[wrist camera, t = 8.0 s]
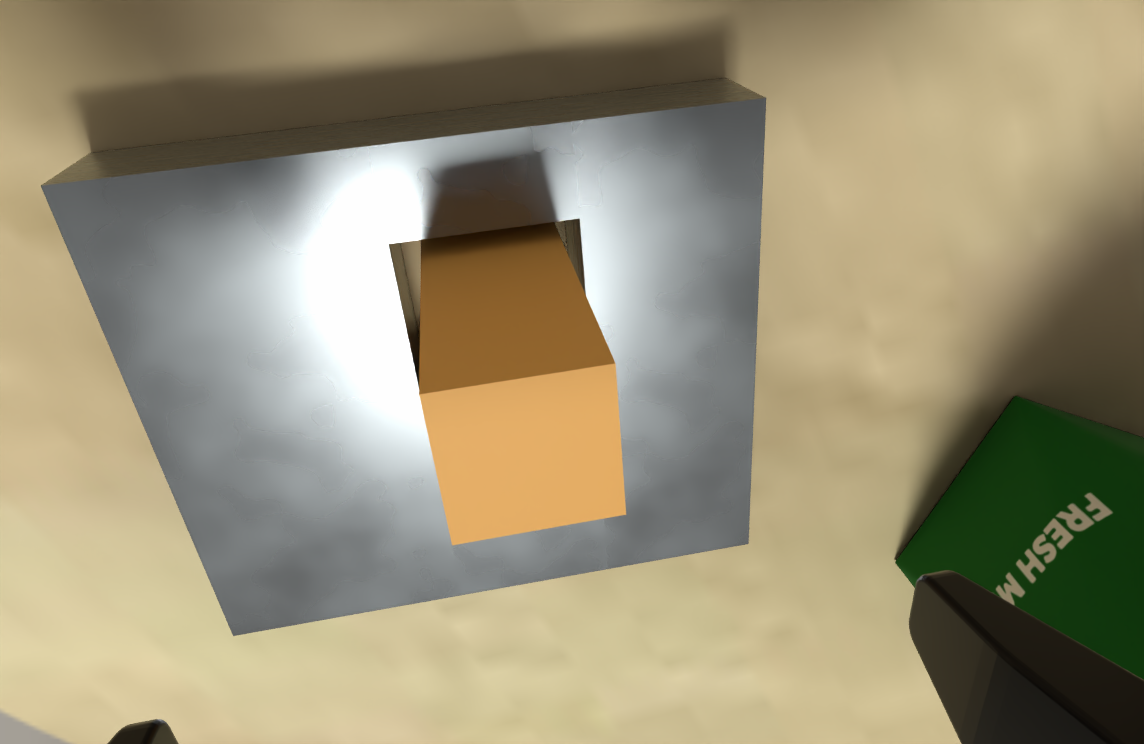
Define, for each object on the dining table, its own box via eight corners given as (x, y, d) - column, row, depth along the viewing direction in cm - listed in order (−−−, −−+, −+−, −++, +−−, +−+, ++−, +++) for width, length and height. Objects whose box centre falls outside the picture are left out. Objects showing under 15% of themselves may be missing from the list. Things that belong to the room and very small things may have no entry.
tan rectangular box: (546, 205, 19) (615, 363, 12) (558, 317, 20) (626, 514, 14) (421, 222, 19) (418, 394, 12) (443, 334, 20) (452, 545, 13)
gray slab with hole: (725, 77, 18) (766, 97, 16) (719, 489, 24) (748, 543, 22) (90, 152, 17) (40, 185, 15) (251, 569, 23) (233, 635, 21)
